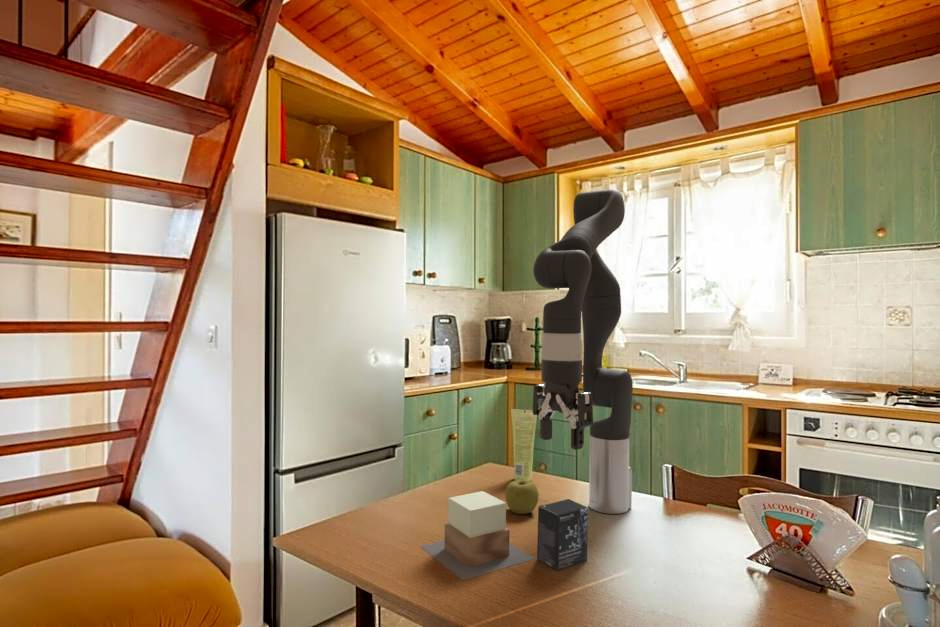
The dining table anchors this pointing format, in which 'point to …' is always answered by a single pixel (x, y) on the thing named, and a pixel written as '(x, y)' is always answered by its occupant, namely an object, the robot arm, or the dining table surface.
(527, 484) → the apple
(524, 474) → the tube
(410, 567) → the dining table surface
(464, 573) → the mat
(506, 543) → the block base
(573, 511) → the box
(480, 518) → the block top
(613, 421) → the robot arm
